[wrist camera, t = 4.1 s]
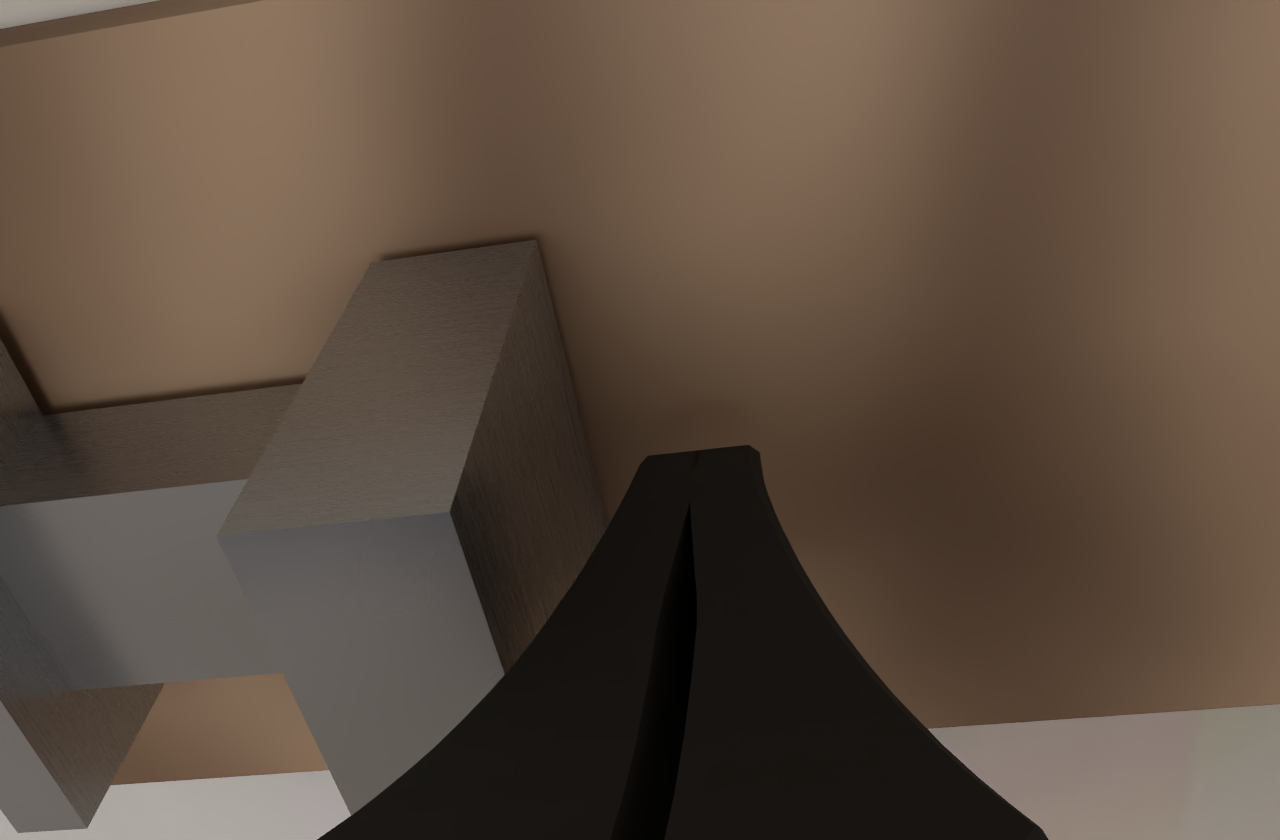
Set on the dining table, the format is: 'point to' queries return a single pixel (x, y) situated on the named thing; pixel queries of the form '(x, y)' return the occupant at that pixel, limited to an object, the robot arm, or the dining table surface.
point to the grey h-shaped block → (298, 536)
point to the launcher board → (733, 291)
